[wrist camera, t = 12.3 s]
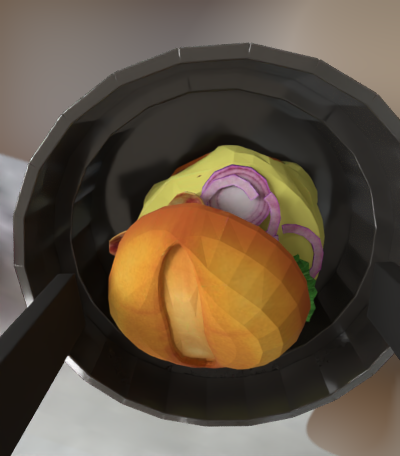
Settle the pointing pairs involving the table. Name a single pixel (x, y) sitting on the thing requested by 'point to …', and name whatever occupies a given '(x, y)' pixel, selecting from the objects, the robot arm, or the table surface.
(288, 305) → the cheeseburger
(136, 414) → the table surface
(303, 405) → the bowl
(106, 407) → the table surface
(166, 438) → the table surface
